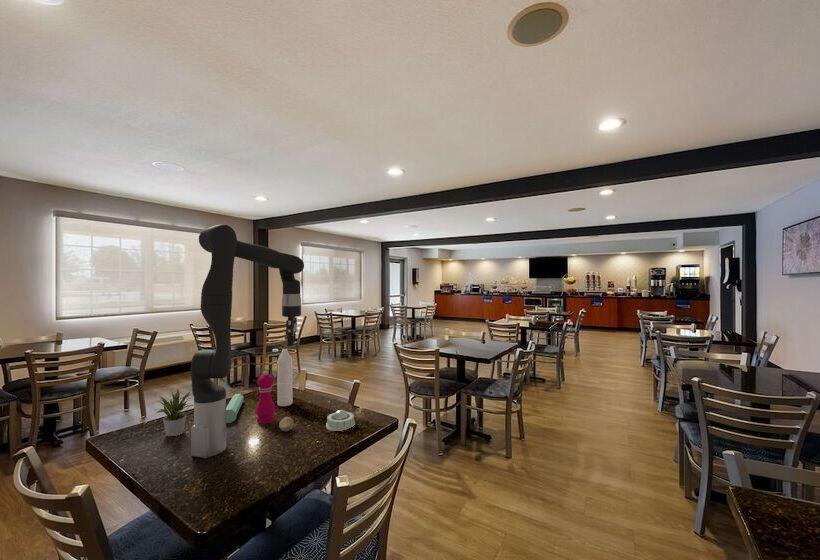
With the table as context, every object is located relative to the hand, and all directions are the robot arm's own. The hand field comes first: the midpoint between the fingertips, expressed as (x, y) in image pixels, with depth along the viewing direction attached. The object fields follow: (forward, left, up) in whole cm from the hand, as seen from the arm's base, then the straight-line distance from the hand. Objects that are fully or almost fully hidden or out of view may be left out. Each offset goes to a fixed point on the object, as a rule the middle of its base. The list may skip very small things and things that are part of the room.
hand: (291, 343), depth 146 cm
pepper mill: (-8, +7, -30) cm, 32 cm away
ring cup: (-3, -24, -30) cm, 39 cm away
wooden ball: (-13, -7, -30) cm, 34 cm away
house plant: (-28, +29, -30) cm, 50 cm away
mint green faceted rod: (-4, +27, -30) cm, 41 cm away
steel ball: (-3, -24, -29) cm, 38 cm away
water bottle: (+10, +13, -30) cm, 34 cm away
